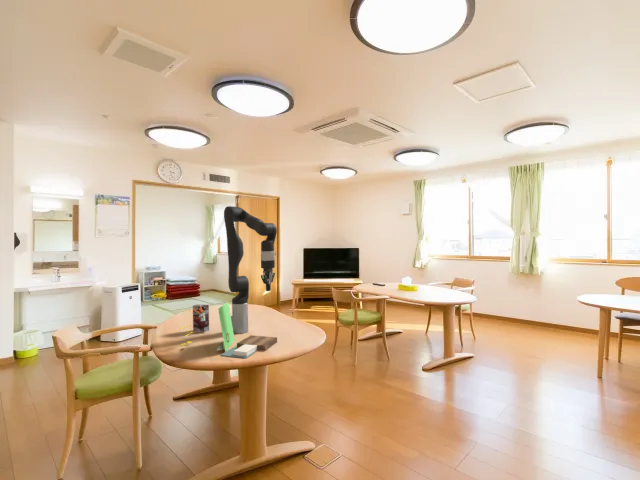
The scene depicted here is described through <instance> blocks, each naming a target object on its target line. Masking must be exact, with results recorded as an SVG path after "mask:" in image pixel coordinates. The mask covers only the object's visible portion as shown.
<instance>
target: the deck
mask: <svg viewBox="0 0 640 480" xmlns="http://www.w3.org/2000/svg"><path fill="white" fill-rule="evenodd" d="M277 343H278V337H275V336H264V335H250V334H249V336H247V337H245V338H243V339H242V340H239V342H237V343H236V348H239V347H241V346H243V345H244V344H248V345H257V350H258V351H263V352H266V351H268V350H269V349H270V348H272V346H274V345H276V344H277Z"/></svg>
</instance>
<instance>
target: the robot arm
mask: <svg viewBox="0 0 640 480" xmlns="http://www.w3.org/2000/svg"><path fill="white" fill-rule="evenodd" d="M223 219H224V227H225V231H226V244H227V246H226V248H227V250H226V251H227V256H228V257H227V261H228V288H229V290H230V292H231V293H238V294H237V295H235V296H234V297H232V299H231V314H232V315H231V321H232V327H233V333H234V334H244V333H247V332H249V304H248V303H249V302H248V301H249V296H250V295H249V293H250V282H249V279H248V277H247V276H246V275H238V270H239V269H238V268H239V265H240V263H241V261H242V258H243V257H244V254H245V253H244V243H243V240H242V239H241V237H240V235H239V234H238V232H237V230H236V228H235V223H244V224H245V225H246V226H247V227H248V228H249V229H251V230H253V231H254V232H256V233H257V234H258V235H259V236H263V237H266V238H265V240H262V241H261V242H260V244H261V245H260V268H261V269H262V274H260V278H261V280H262V283H263V284H265V291H266V292H270V291H272V289H271V288H272V283H274V278H275V275H276V272H274V269H275V266H276V263H275V262H276V259H275V258H276V257H275V241H276V238H277V237H276V236H277V232H278V231H277V230H278V229H277V226H276V224H275V223H273V222H264V221H263V220H262V219H260V218H258V217H256V216H253V215H252V214H250V213H249V212H248V211H246V210H245V209H243V208H242V207H240V206H230V205H229V206H226V207H225V208H224V210H223Z"/></svg>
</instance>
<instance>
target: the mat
mask: <svg viewBox="0 0 640 480" xmlns="http://www.w3.org/2000/svg"><path fill="white" fill-rule="evenodd" d="M236 349H238V348H237V347H231V348H230V349H227V351H226V352H225V351H224V352H223V353H221V354H220V355H219V356H220V357H227V358H228V357H230V358H238V359H249V357H250V356H253V354H255V353H257V352H258V351H259V350H256V351H254V352H253V353H251V354H250V355H248V356H238V355H234V350H236Z"/></svg>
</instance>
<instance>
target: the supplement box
mask: <svg viewBox="0 0 640 480" xmlns="http://www.w3.org/2000/svg"><path fill="white" fill-rule="evenodd" d="M200 305H201V307H202V310H204V312H205V313H206V315H205V316H206V318H205V321H200V320H201V317H202V316H200V315H199V314H198V313H197V312H195V311H194V310H193V308H195V310H196V311H199V312H200V313H201V311H200V310H199V308H200ZM209 308H210V307H209V304H199V303H198V304H194V305H192V328H193V329H192V330H193V331H192V332H195V331H199V332H198V333H203V332H205V333H207V332H209V331H210V309H209ZM199 316H200V317H199ZM202 318H203V317H202ZM206 331H207V332H206Z"/></svg>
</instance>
